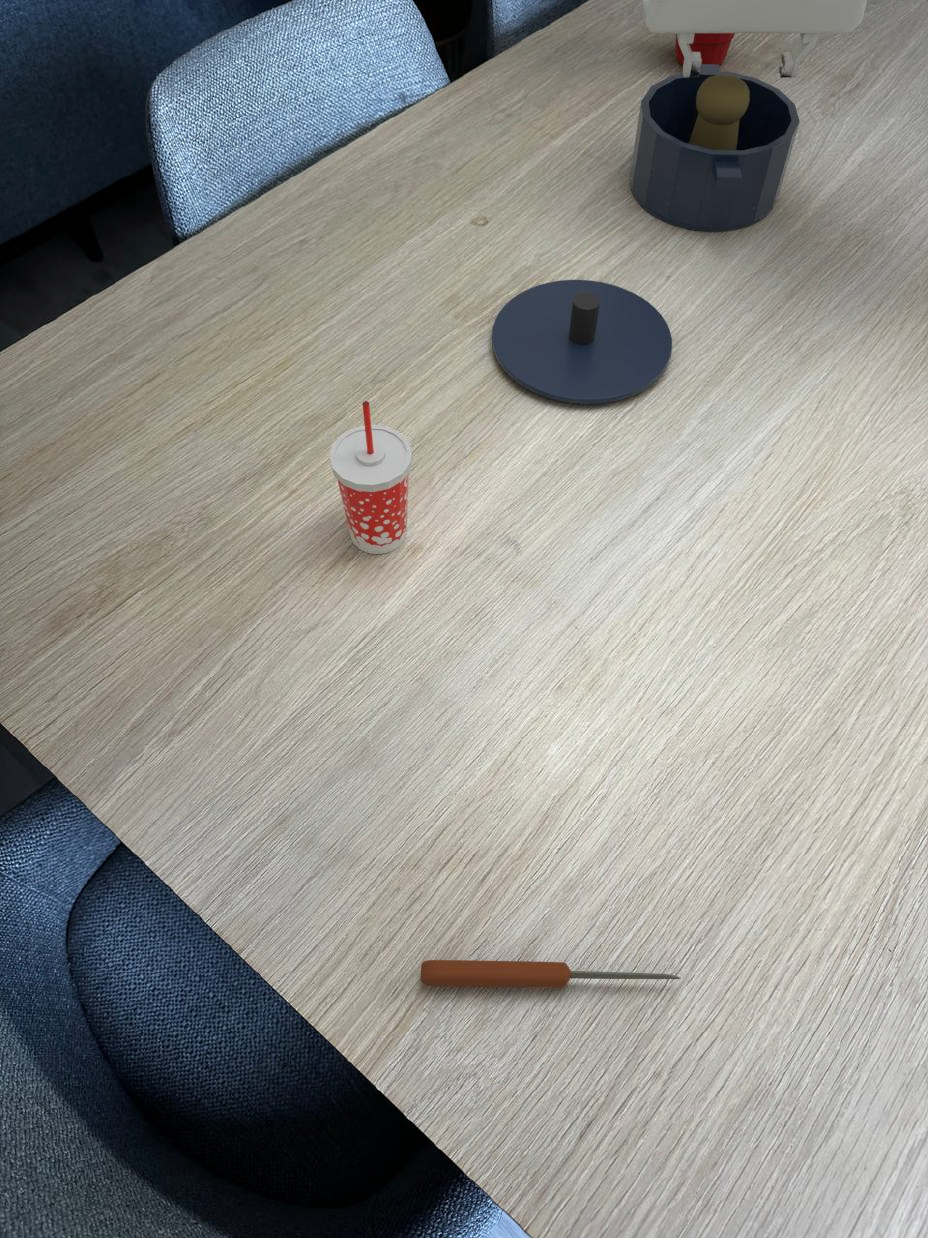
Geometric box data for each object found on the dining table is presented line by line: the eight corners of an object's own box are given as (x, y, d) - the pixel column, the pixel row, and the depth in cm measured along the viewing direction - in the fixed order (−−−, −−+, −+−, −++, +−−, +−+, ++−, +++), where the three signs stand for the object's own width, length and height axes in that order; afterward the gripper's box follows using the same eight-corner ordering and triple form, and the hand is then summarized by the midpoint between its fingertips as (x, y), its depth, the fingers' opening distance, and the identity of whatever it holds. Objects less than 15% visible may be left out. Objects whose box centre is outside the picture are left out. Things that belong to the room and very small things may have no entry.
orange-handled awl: (420, 989, 63) (419, 980, 61) (421, 966, 64) (420, 956, 62) (679, 994, 63) (685, 985, 61) (677, 971, 64) (683, 961, 62)
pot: (763, 135, 117) (782, 58, 110) (790, 249, 105) (814, 172, 98) (624, 131, 117) (635, 55, 110) (636, 245, 105) (649, 168, 98)
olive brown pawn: (693, 161, 113) (713, 59, 104) (742, 180, 111) (768, 77, 102) (665, 187, 110) (684, 84, 101) (716, 207, 108) (740, 104, 99)
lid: (663, 291, 101) (672, 245, 97) (677, 411, 92) (688, 366, 87) (493, 287, 101) (494, 240, 97) (489, 406, 92) (491, 361, 88)
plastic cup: (653, 34, 130) (669, -73, 120) (740, 39, 129) (763, -68, 120) (653, 79, 124) (670, -30, 114) (744, 84, 123) (769, -25, 113)
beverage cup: (401, 569, 81) (392, 443, 70) (329, 551, 82) (308, 423, 71) (426, 512, 85) (421, 383, 73) (356, 496, 86) (340, 365, 74)
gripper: (883, -100, 92) (839, 58, 104) (652, -99, 93) (634, 58, 104) (898, -69, 89) (851, 91, 100) (657, -68, 89) (638, 91, 101)
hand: (738, 74), depth 102 cm, fingers open, 8 cm apart
